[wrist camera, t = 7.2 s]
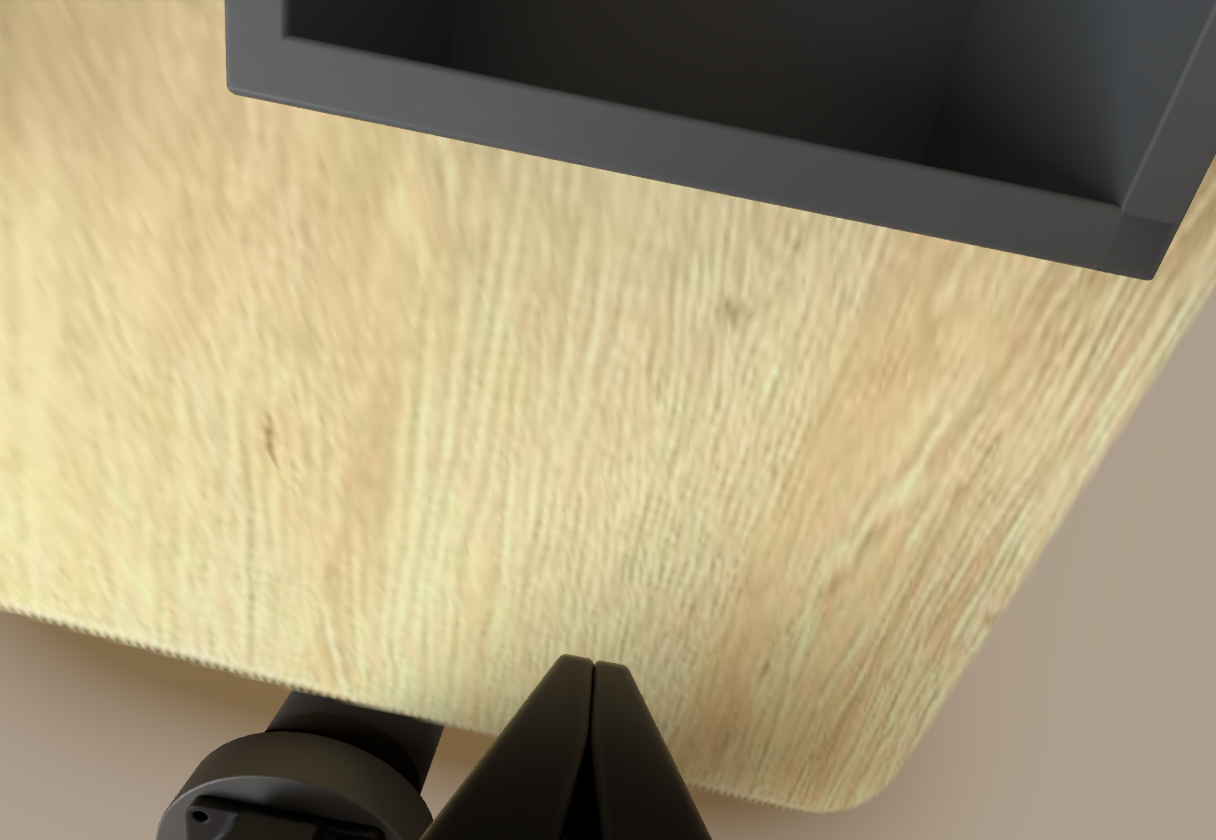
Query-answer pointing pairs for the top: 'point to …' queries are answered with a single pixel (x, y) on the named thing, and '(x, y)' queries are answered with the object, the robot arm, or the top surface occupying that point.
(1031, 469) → the top surface
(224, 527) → the top surface
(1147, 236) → the basket
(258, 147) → the top surface
